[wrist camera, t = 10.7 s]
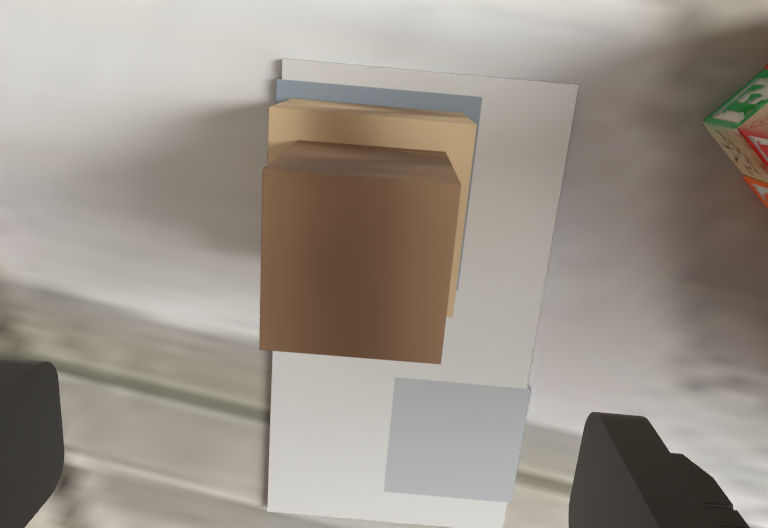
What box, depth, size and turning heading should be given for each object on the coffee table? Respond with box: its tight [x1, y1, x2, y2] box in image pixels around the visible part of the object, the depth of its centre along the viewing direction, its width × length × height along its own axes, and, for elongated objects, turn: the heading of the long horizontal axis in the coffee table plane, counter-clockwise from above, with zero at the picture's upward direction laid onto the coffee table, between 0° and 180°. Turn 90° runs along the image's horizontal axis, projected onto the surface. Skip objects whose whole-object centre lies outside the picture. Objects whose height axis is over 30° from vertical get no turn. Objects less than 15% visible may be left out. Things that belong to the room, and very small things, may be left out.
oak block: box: [267, 98, 477, 318], centre depth 25 cm, size 7×7×5 cm
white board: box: [267, 59, 579, 528], centre depth 29 cm, size 12×22×1 cm, turn 175°
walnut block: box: [260, 140, 461, 364], centre depth 20 cm, size 5×5×6 cm
